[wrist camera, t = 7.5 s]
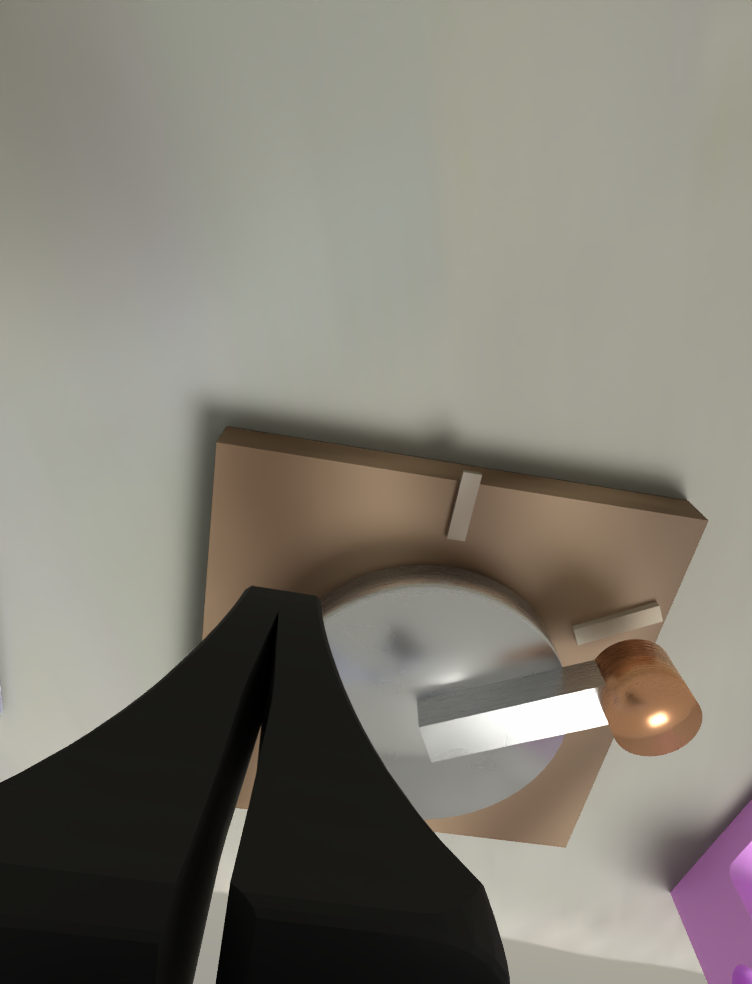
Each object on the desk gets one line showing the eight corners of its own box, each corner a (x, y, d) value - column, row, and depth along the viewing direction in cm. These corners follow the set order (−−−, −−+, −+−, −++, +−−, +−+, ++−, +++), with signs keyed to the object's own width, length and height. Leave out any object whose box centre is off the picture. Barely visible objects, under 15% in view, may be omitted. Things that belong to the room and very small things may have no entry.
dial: (332, 801, 26) (325, 902, 22) (241, 605, 22) (214, 688, 18) (664, 731, 25) (715, 827, 21) (630, 505, 21) (685, 574, 17)
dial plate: (199, 772, 28) (189, 807, 26) (227, 415, 21) (215, 432, 20) (556, 816, 29) (567, 852, 27) (692, 490, 22) (716, 513, 21)
